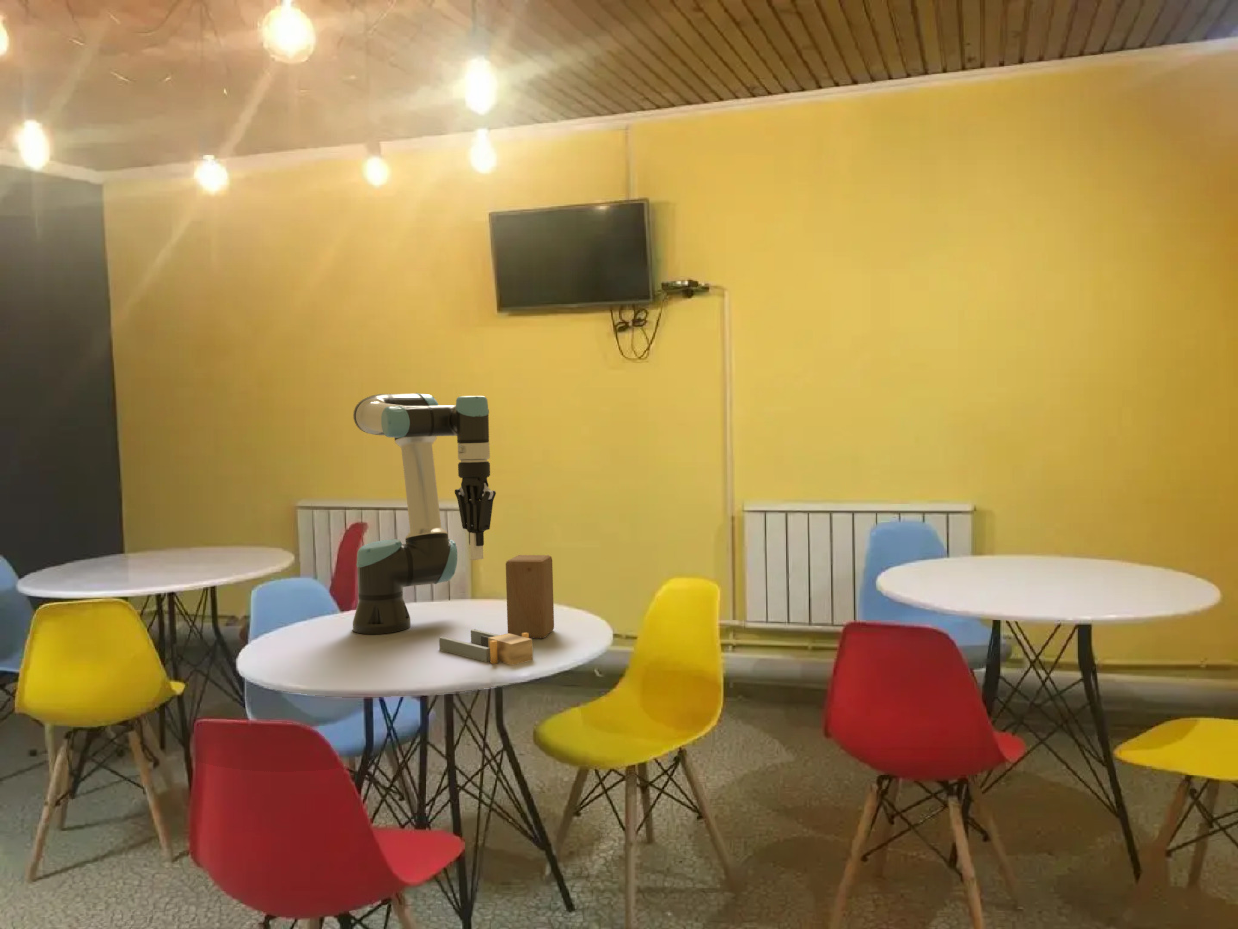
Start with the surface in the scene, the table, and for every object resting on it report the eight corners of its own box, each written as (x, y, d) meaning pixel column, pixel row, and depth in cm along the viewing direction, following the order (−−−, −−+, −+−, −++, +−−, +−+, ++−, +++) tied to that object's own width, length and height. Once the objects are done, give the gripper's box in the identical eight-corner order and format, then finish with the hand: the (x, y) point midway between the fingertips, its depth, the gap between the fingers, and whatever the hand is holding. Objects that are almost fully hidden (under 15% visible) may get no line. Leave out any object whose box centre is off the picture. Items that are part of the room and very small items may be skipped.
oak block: (488, 659, 214) (488, 637, 214) (509, 654, 218) (508, 633, 218) (511, 666, 207) (511, 644, 207) (532, 660, 212) (532, 639, 211)
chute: (438, 650, 223) (438, 629, 222) (475, 641, 231) (474, 621, 230) (493, 664, 208) (492, 642, 208) (530, 654, 217) (530, 633, 216)
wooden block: (544, 639, 231) (542, 560, 229) (506, 638, 233) (504, 560, 231) (555, 630, 240) (553, 554, 239) (518, 629, 242) (516, 554, 241)
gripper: (444, 461, 220) (447, 558, 221) (478, 462, 211) (481, 564, 212) (469, 459, 225) (472, 554, 227) (503, 460, 216) (506, 559, 218)
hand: (476, 559), depth 219 cm, fingers closed
